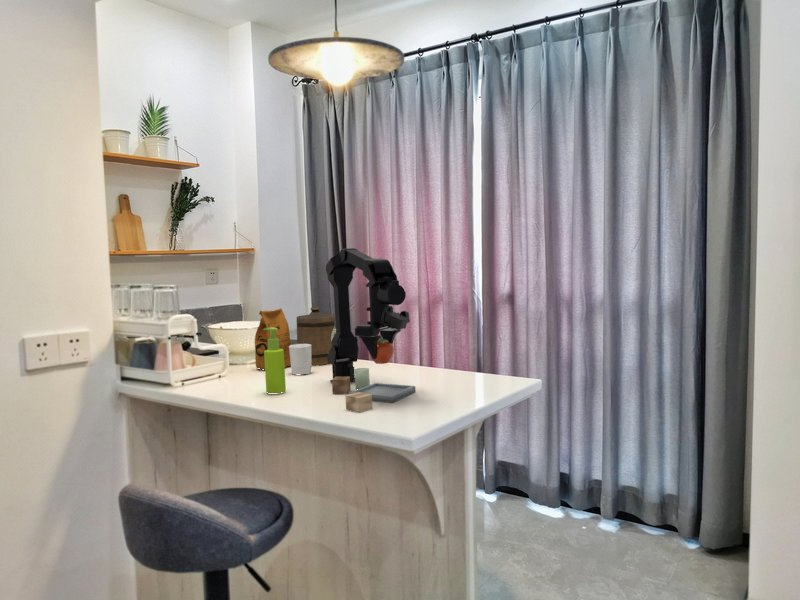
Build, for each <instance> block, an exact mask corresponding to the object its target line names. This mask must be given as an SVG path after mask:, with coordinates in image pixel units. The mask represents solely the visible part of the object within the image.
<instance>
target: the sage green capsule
mask: <svg viewBox="0 0 800 600" xmlns="http://www.w3.org/2000/svg"><path fill="white" fill-rule="evenodd" d="M354 372H355V380H354V383H355V386H354V387H355V390H357V389H360V388H363V387H365V386H368V385H371V383H370V368H367V367H357V368H354Z"/></svg>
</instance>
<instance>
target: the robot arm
mask: <svg viewBox="0 0 800 600" xmlns="http://www.w3.org/2000/svg"><path fill="white" fill-rule="evenodd" d="M356 269H358V270H361V271H362V275H363V277H365V279H366V280H368V282H367V283H366V285H365V287H366V288H368V298H369V301H368V303H369V305H368V306H367V307H366V311H368V312H369V320H368V321H366V322H367V323H366V324H359V325H356V327H355V328H354V333H353V332H352V327H351V326H352V324H351V310H350V309H351V308H350V307H351V306H350V305H351V304H350V292H349V291H350V290H349V287H350V284H351V283H352V281H353V278H354V271H356ZM325 271H326V276H327V280H328V281H329V283H330V285H331V286H332V289H333V299H334V301H333V302H334V304H333V305H334V317H335V335H334V337H333V339H332V347H331V349H330V351H329V353H328V356H327V360H328V363H330V364H329V365H332V366H331V369H332V371H331V372H332V379H333V378H335V377H350V383H351V382H353V381H355V366H354V363H355V362H356V363H357V362H358V359H359V358H358V356H359V349H360V348H359V345H358V344H359V343H358V338H359V339H361V340H362V342H363V343H364V346H365V347H366V349H367V351H368V353H370V354H369V356H370V355H371V357H372V358H373V359H376V357H377V342H378V340H379V338H380V337H381V336H382V337H383V339H386V340H388V342H390V343H391V344H392V345H393V344H394V340H395V337H396V336H397V335H398V333H400V332H402V330H403V329H406V328H407V325H408V323H411V319H410V314H409V313H410V312H409V311H407V310H401V311H400V312H395V311H394V307H393V306H399V305H402V304H403V303H404V302H405V300H406V291H405V288H404V287H403V286H402V285H400V281H399V279H398V276H397V274H396V273H395V270H394V268H393V266H392V264H391V261H389V259H385V258H384V259H383V258H373V257H371V256H369V255H368V254H365V253H363V252H361V251H359V249H357V248H355V247H350V248H342V249H341V250H340V251H339V252H338V253H336V254H335V255H334V256H332V257H331V258H330V259H329V260H328V261H327V264H326V266H325ZM379 334H380V335H379ZM371 357H370V358H371ZM372 358H371V359H372ZM332 379H330V380H329V382H331V383H332Z"/></svg>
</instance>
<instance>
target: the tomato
mask: <svg viewBox="0 0 800 600" xmlns="http://www.w3.org/2000/svg"><path fill="white" fill-rule="evenodd" d="M368 353H369V352H368ZM394 354H395V348H394V345H393V344H391V343H390V342H388V340H386V339H383V337H382V336H381V337H380V338H379V340H378V342H377V357H376V359H373V358H372V357H371V355H370V353H369V356H370V359H371V360H372V362H374V363H375V364H377V365H384V364H388V363H389V362H390V361H391V360H392V358H393V357H394Z"/></svg>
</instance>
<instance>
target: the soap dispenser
mask: <svg viewBox="0 0 800 600" xmlns="http://www.w3.org/2000/svg"><path fill="white" fill-rule="evenodd" d="M263 330H270V338H269V339H268V350H265V351H264V359H265V370H264V372H265V376H264V377H265V391H266V392H268V393H281V392H285V391H286V392H287V389H286V388H287V387H286V385H287V384H286V371H285V370H286V368H285V366H284V350H283V349H279V339H278V338H276V331H277V330H278V328H274V327H270V328H264V329H263ZM286 392H285V393H286Z"/></svg>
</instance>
